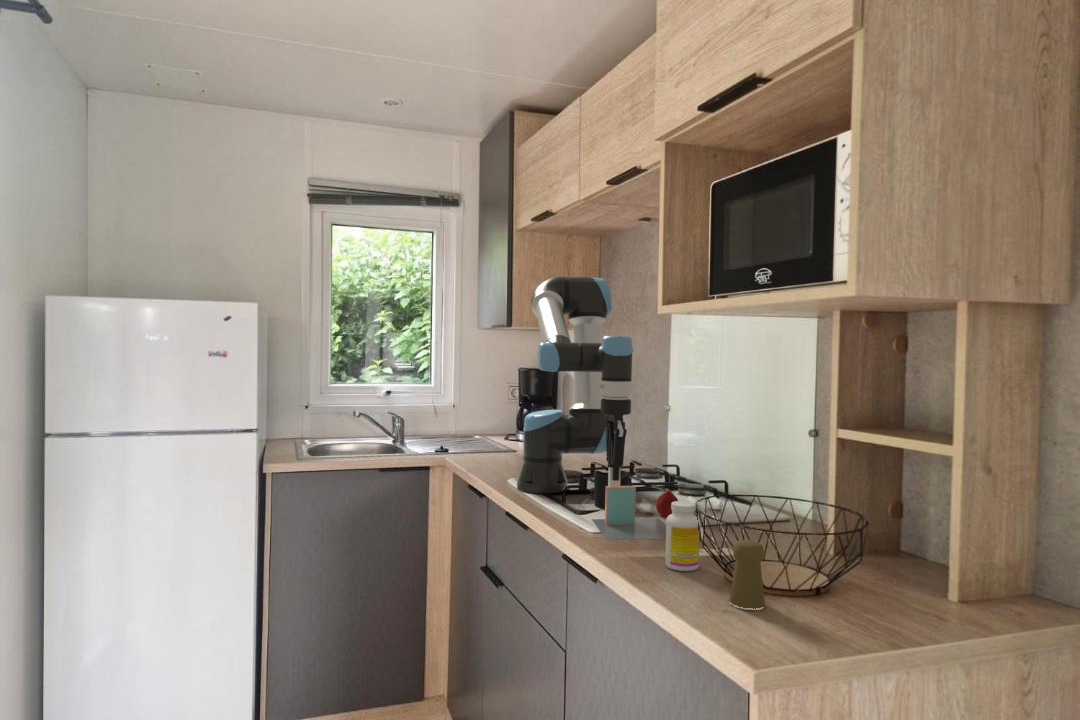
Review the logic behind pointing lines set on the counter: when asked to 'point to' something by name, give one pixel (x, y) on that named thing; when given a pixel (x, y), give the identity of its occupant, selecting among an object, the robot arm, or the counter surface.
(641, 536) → the slate board
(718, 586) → the counter surface
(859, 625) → the counter surface
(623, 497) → the tile
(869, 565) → the counter surface
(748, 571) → the cork
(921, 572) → the counter surface
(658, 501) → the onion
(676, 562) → the supplement bottle
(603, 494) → the pen holder
